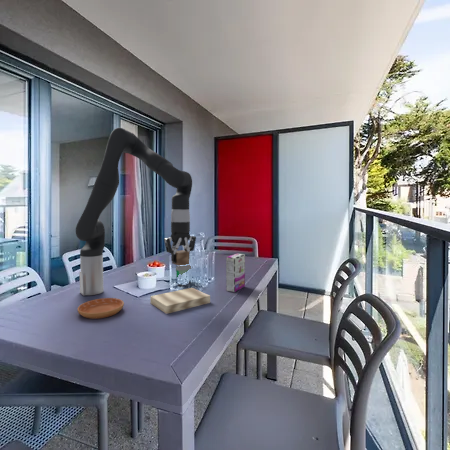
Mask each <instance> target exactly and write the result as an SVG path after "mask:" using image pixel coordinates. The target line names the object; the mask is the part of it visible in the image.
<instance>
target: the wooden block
mask: <svg viewBox="0 0 450 450" xmlns="http://www.w3.org/2000/svg"><path fill="white" fill-rule="evenodd" d="M210 303H211V295H210V294H207V293H205V292H202V291H200V290H199V289H196V288H194V287H190V288H189V287H188V288H183V289H180V290H173V291H170V292H165V293H160V294H156V295H151V296H150V305H152V306H153V307H155V308H157V309H158V310H160V311H162V313H165V314H166V315H167V314H171V313H175V312H179V311H180V312H181V311H183V310H188V309H191V308H195V307H199V306H203V305H207V304H210Z"/></svg>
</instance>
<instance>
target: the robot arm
mask: <svg viewBox="0 0 450 450" xmlns="http://www.w3.org/2000/svg"><path fill="white" fill-rule="evenodd" d="M105 148H106V149H105V152H104V155H103V159H102V161H101V162H102V163H101V165H100V169H99V171H98V173H97V176H96V178H95V181H94V184H93V186H92V189H91V192H90V195H89V198H88V199H87V203H86V205H85V208H84V210H83V211H82V213H81V215H80V217H79V219H78V222H77V224H76V226H75V236H76V237H77V239H78V240H80V241H83V242H85V243H84V245H83V246H82V248H80V250H79V257H80V259H79V260H80V271H79V273H78V274H79V293H80V294H81V295H82V296H83V297H84V296H94V295H95V296H96V295H100V294H102V293H104V261H103V260H104V258H103V257H104V249H105V244H106V243H105V241H106V237H105V236H106V230H105V225H104V223H103V222H102V221H101V220H100V216H101V215H102V213H103V211H104V210H105V209H106V207H107V206H109V205H110V204H111V202H112V200H114V197H115V195H116V193H117V190H118V187H119V185H120V172H119V163H120V159H121V157H122V154H123V153H124V154H129V155H132V156H134V157H136V158H138V159H139V160H141V162H143V163H144V164H145V166H146V167H147V168H148V169H150V170H151V171H153V172H154V173H155V174H157V175H158V176H159V177H161V178H162V179H163V180H164V182H166V183H167V184H168V185H170V186H171V187H172V188H175V189H176V192H175V194H173V196H171V214H170V225H171V226H170V232H171V233H170V234H171V235H170V236H169V237H164V238H163V241H164V246H165V250H166V252H167V253H169V254H171V255H170V257H171V263H172V262H173V263H176V252H177V251H178V249H179V248H180V247H181V246H182V248H183V250H184V251H188V252H189V255H190V253H191V252H193V251H194V250H195V246H196V245H195V244H196V240H197V237H196V236H194V235H191V234H190V232H191V226H190V225H191V214H190V197H191V194H192V188H193V177H192V175H191V173H189V172H187V171H184V170H180V169H178V168H176V167H175V166H174V164H173V163H171V161H169V160H168V159H166V158H165V157H164V156H162V155H160V154H159V153H157V152H155V151H154V150H152V149H151V148H149V147H148V146H147V145H146V144H145V143H144V142H143V141H142V140H141V139H140V138H139V137H138V136H137V135H136V134H134V133H133V132H131V131H129V130H128V129H125V128H123V127H116V128H114V129H113V130H112V131H111V133H110V135H109V137H108V140H107V143H106V147H105ZM171 243H172V245H171Z"/></svg>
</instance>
